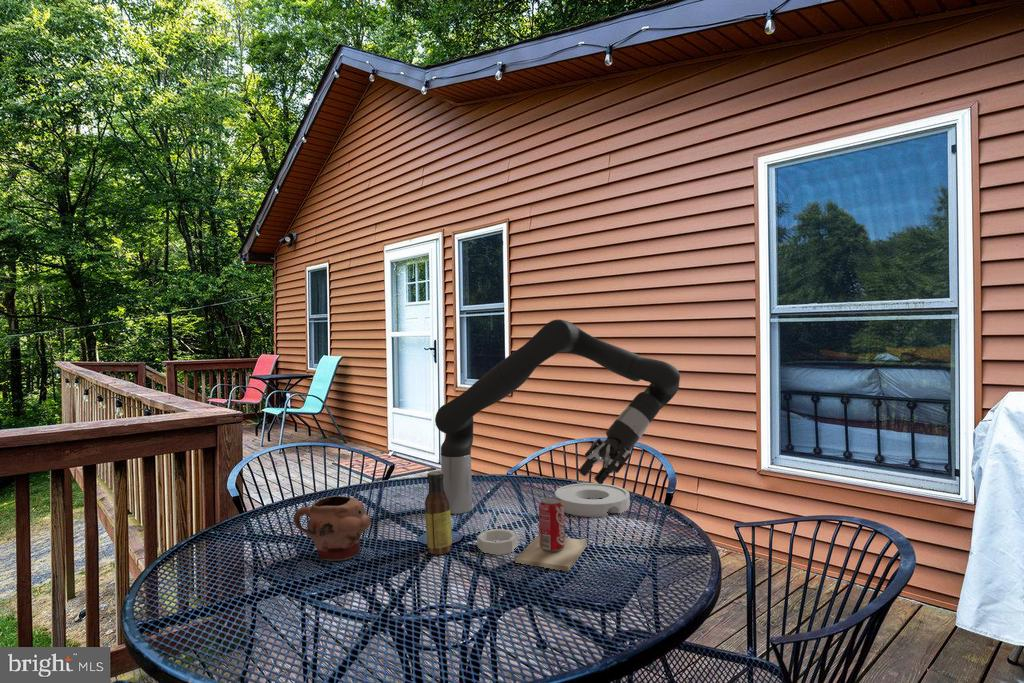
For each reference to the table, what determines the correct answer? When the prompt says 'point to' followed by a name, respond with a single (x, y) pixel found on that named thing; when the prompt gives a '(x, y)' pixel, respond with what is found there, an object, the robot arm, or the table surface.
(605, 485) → the ashtray
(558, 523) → the beverage can
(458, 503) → the robot arm
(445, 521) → the sauce bottle
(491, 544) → the can holder
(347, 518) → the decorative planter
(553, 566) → the birch board
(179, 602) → the table surface
